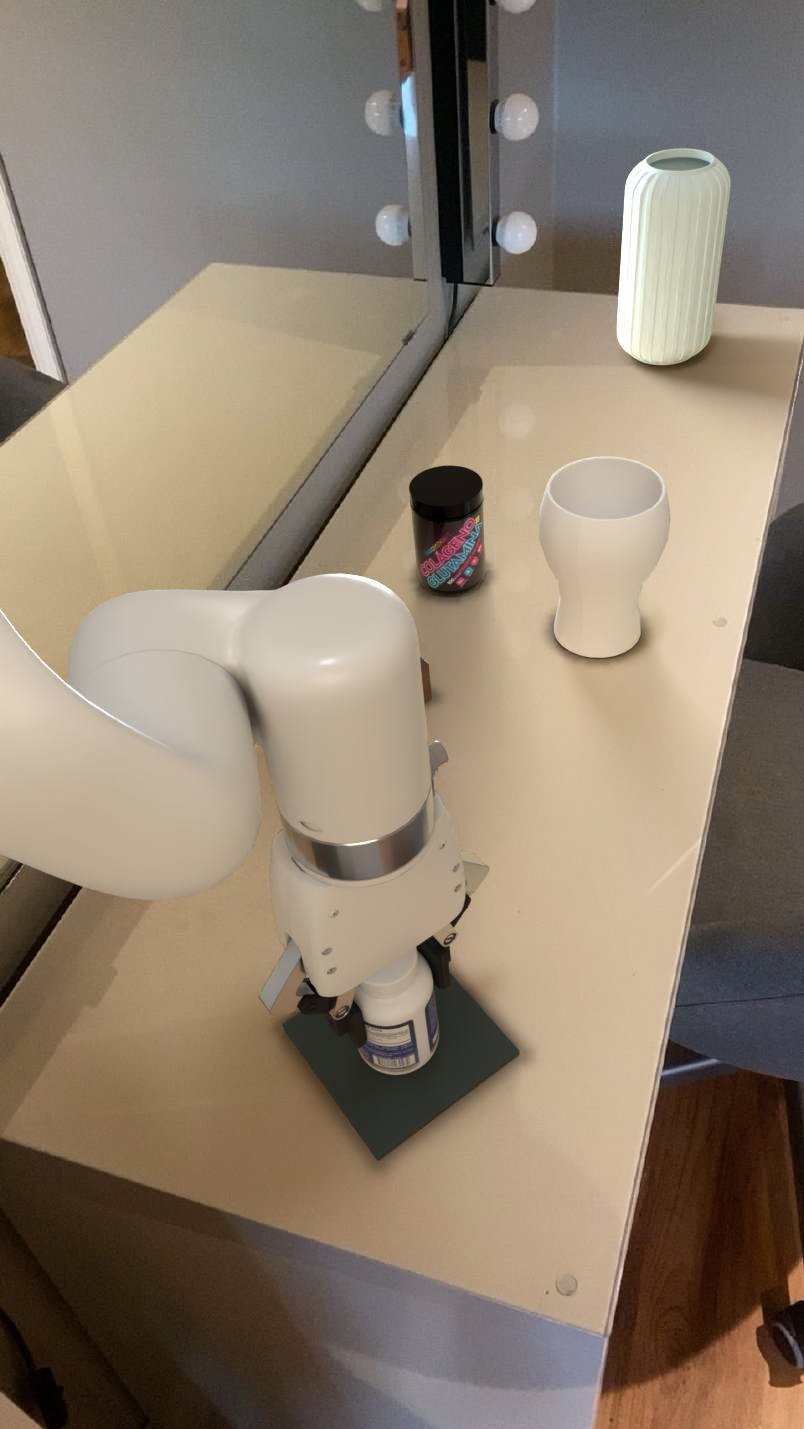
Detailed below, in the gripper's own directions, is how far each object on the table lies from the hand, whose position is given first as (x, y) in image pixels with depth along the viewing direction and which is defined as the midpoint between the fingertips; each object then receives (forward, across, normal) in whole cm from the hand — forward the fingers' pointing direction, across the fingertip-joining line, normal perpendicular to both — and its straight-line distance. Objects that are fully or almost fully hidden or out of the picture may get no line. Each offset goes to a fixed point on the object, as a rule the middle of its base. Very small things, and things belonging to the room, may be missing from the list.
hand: (390, 998), depth 64 cm
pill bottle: (+5, 0, 0) cm, 5 cm away
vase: (+5, -80, -56) cm, 98 cm away
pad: (+5, 0, 0) cm, 5 cm away
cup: (+6, -38, -22) cm, 44 cm away
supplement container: (+5, -32, -36) cm, 49 cm away
